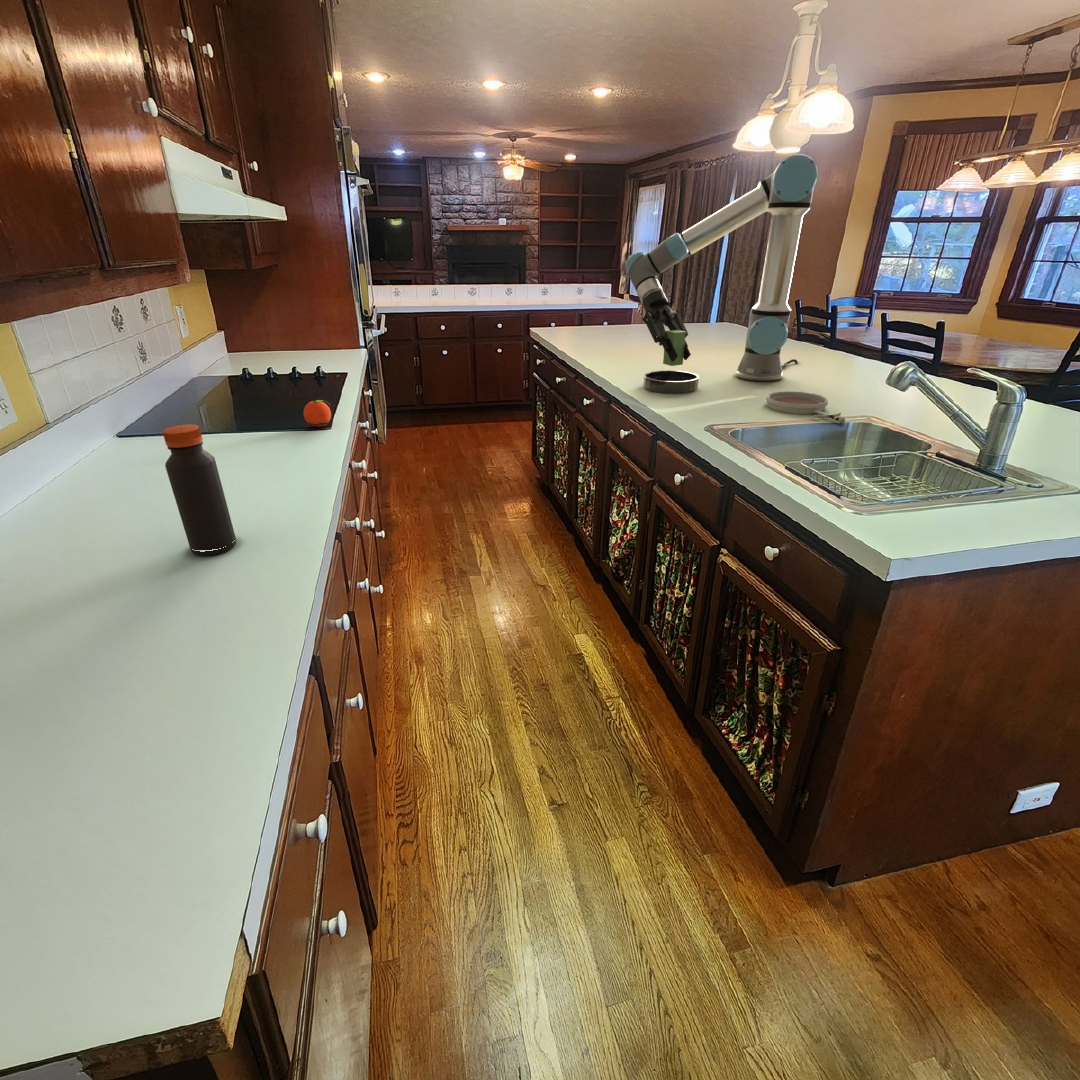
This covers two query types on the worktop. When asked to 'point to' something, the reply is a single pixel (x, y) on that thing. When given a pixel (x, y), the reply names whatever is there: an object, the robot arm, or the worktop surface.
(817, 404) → the frying pan
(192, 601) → the worktop surface
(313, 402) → the clementine
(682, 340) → the green block
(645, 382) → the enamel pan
